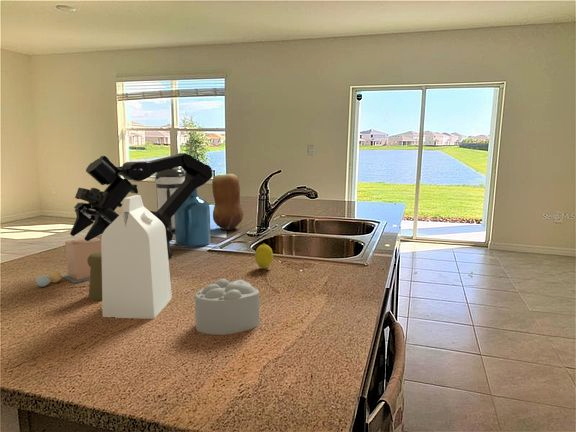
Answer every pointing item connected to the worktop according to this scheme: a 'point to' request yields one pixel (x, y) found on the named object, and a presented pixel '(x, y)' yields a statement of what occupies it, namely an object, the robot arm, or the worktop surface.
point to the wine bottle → (192, 222)
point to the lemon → (263, 256)
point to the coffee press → (168, 188)
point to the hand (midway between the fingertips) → (78, 237)
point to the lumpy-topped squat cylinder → (227, 307)
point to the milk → (135, 264)
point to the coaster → (74, 279)
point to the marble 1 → (42, 281)
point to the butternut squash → (227, 201)
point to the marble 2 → (55, 277)
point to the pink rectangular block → (80, 256)
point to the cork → (95, 276)
